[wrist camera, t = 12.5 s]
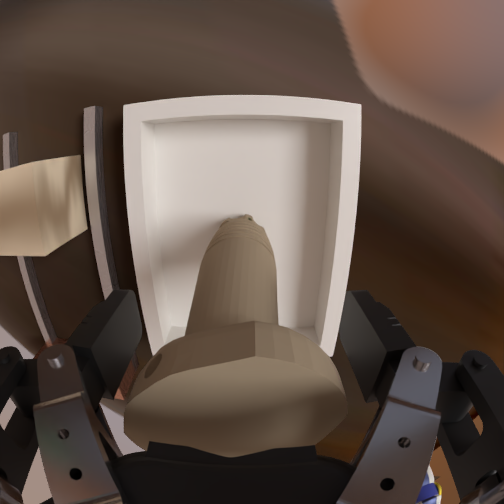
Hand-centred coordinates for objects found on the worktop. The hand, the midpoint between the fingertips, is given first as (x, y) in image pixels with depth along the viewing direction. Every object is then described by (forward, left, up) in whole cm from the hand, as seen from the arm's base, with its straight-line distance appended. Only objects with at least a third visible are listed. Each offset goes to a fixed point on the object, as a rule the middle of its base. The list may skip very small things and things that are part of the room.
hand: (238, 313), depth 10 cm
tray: (0, 0, -11) cm, 11 cm away
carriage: (-3, -16, -11) cm, 20 cm away
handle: (0, 0, -10) cm, 10 cm away
